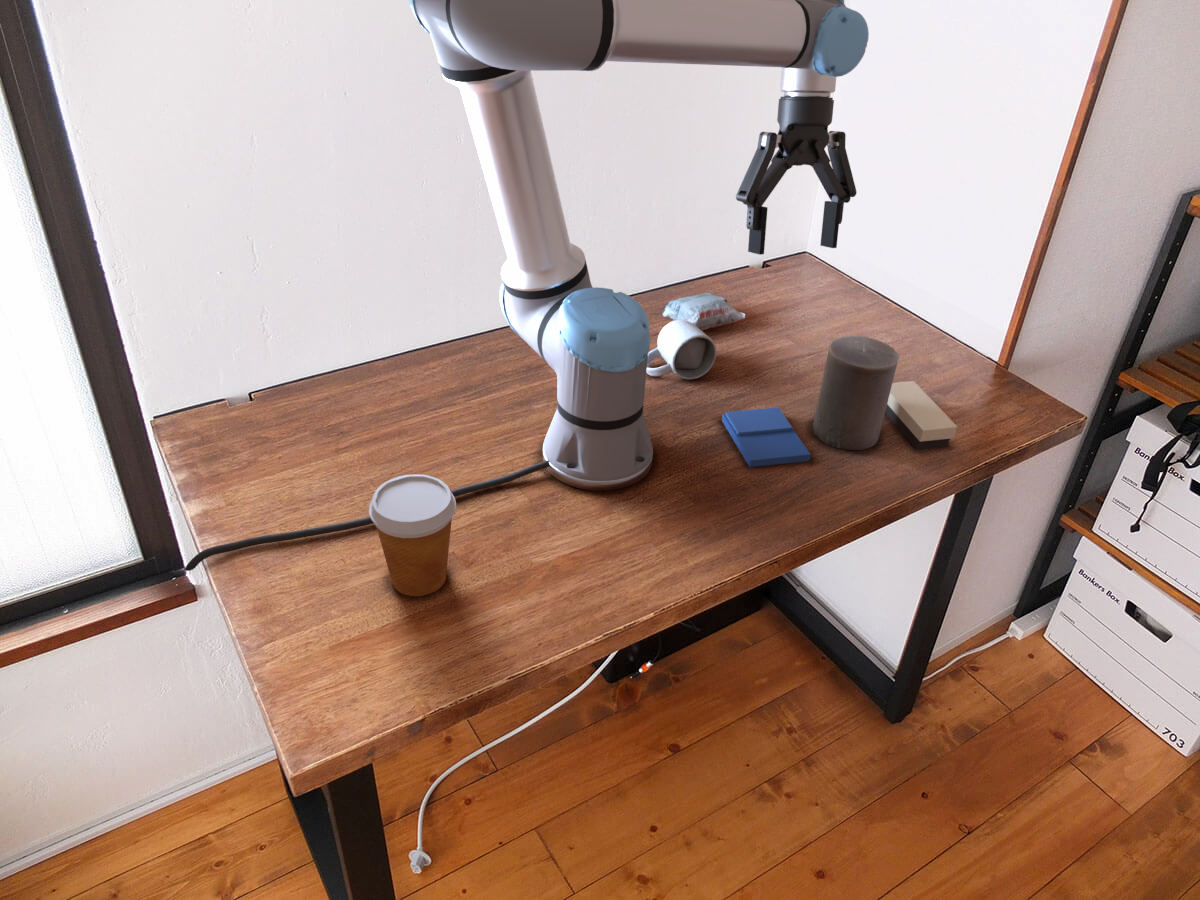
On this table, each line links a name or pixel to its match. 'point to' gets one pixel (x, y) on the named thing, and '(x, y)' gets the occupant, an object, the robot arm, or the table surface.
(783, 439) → the blue dish cloth
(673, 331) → the ceramic mug
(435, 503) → the disposable coffee cup
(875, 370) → the pillar candle
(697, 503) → the table surface
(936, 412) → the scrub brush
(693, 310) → the packaged food
